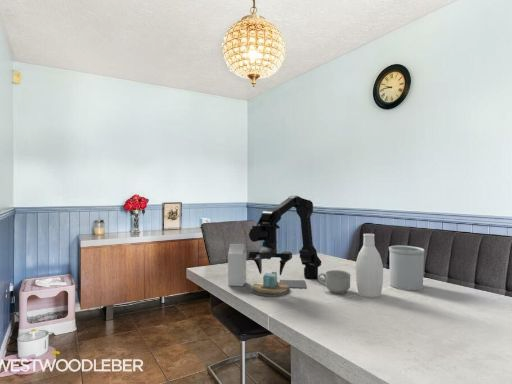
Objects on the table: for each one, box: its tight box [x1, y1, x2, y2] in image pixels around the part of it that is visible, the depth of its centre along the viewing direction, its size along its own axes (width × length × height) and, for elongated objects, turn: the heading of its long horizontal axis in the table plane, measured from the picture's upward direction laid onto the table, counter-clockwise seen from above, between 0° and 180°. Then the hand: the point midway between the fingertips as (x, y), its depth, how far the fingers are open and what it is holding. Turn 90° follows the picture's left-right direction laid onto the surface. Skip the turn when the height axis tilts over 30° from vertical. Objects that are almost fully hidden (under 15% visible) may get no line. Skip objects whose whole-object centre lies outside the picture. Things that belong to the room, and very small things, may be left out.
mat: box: [279, 279, 307, 289], centre depth 152 cm, size 12×12×1 cm
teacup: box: [317, 269, 352, 294], centre depth 142 cm, size 14×11×8 cm
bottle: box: [355, 233, 384, 299], centre depth 136 cm, size 11×11×25 cm
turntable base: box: [250, 287, 291, 297], centre depth 143 cm, size 17×17×1 cm
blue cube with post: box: [262, 272, 278, 288], centre depth 142 cm, size 8×5×5 cm, turn 163°
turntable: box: [251, 271, 288, 294], centre depth 143 cm, size 16×16×5 cm
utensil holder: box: [388, 245, 426, 291], centre depth 148 cm, size 15×15×18 cm
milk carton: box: [227, 243, 247, 287], centre depth 153 cm, size 7×7×19 cm
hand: (270, 274), depth 143 cm, fingers open, 9 cm apart
